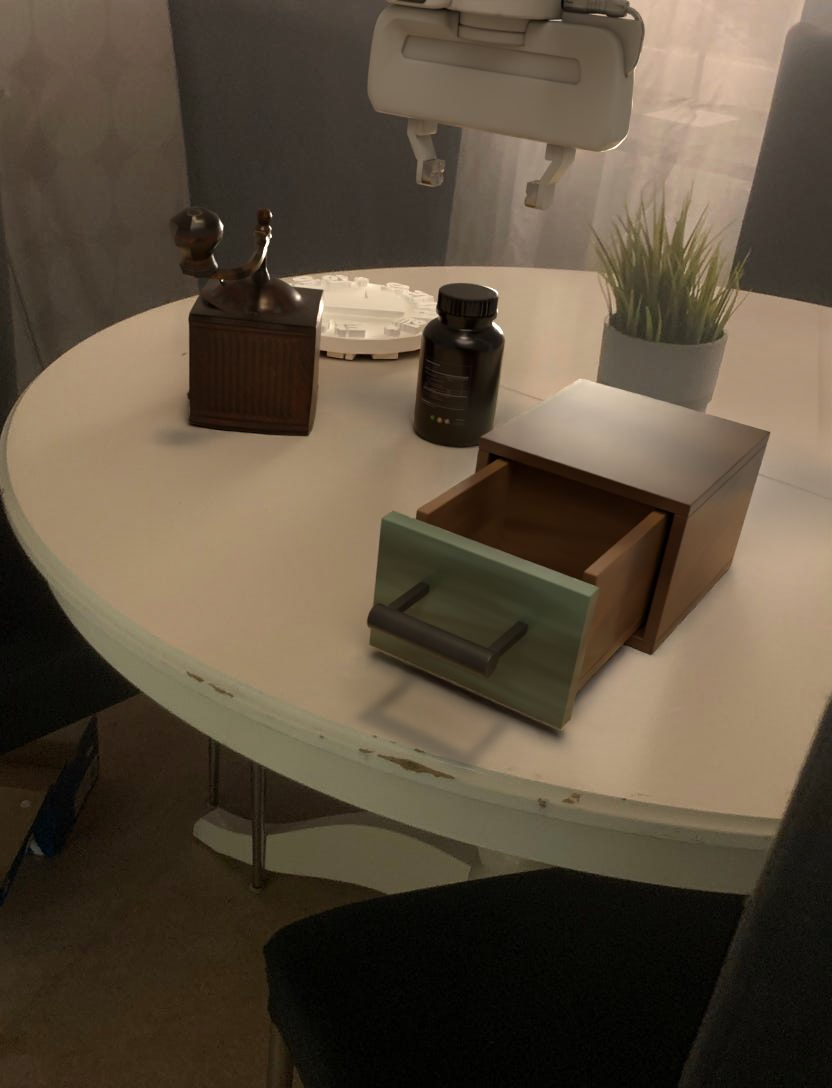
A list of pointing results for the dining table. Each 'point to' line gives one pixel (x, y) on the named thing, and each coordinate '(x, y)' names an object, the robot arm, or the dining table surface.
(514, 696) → the drawer
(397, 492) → the dining table surface
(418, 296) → the white wall clock
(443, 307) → the supplement bottle
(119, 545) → the dining table surface
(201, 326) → the coffee grinder
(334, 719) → the dining table surface
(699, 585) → the cabinet
